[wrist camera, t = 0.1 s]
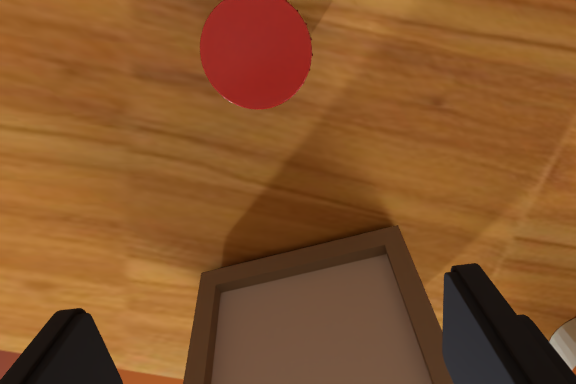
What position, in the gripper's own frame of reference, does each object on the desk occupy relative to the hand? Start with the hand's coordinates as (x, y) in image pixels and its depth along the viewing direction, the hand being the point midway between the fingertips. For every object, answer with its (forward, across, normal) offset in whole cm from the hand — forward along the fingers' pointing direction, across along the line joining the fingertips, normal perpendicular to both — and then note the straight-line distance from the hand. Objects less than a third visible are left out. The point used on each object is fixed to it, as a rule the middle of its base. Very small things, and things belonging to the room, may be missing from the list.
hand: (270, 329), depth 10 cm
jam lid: (+17, +1, -6) cm, 18 cm away
